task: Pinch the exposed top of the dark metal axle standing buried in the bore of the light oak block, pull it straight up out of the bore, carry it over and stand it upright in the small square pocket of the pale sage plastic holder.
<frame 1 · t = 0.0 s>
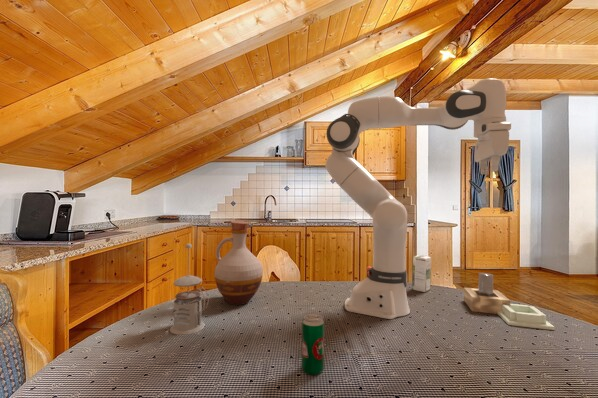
hand: (488, 172, 95), 48 cm above the table, tool pointing down, fingers open, 8 cm apart
holder: (522, 319, 96), on the table
axle: (485, 290, 107), in the bored block
bored block: (485, 307, 107), on the table
french press: (190, 328, 88), on the table
syrup box: (421, 290, 127), on the table
soda can: (312, 370, 67), on the table
jug: (236, 301, 111), on the table
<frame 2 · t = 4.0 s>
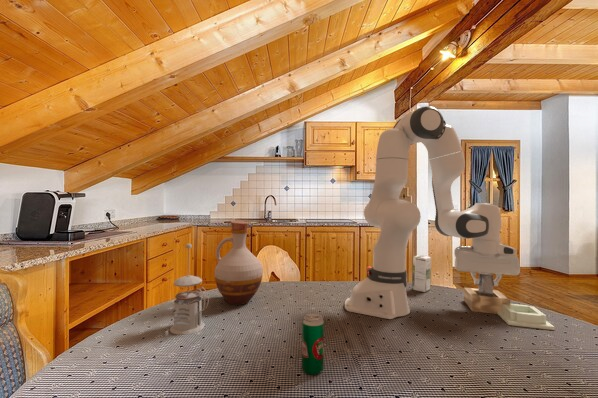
hand: (485, 285, 107), 8 cm above the table, tool pointing down, fingers closed on axle, 4 cm apart
axle: (485, 290, 107), in the bored block, touching gripper
everything else where it was.
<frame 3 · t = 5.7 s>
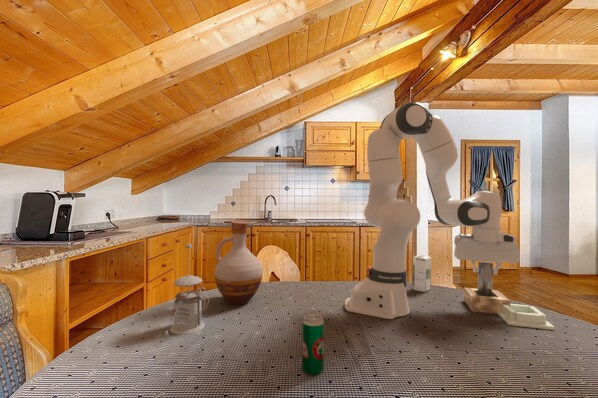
hand: (485, 273, 107), 12 cm above the table, tool pointing down, fingers closed on axle, 4 cm apart
axle: (485, 279, 107), point 10 cm above the table, touching gripper
everything else where it was.
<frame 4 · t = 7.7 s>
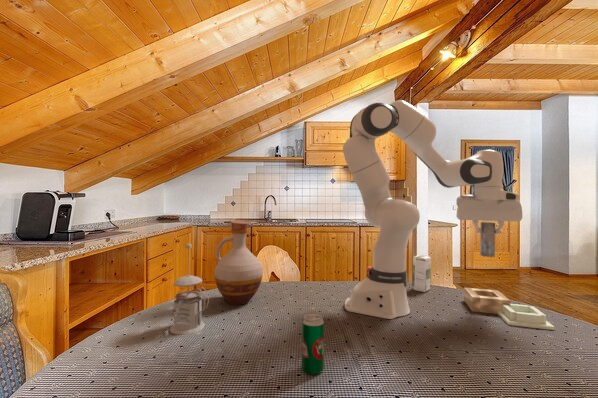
hand: (487, 233, 107), 27 cm above the table, tool pointing down, fingers closed on axle, 4 cm apart
axle: (487, 239, 107), point 25 cm above the table, touching gripper
everything else where it was.
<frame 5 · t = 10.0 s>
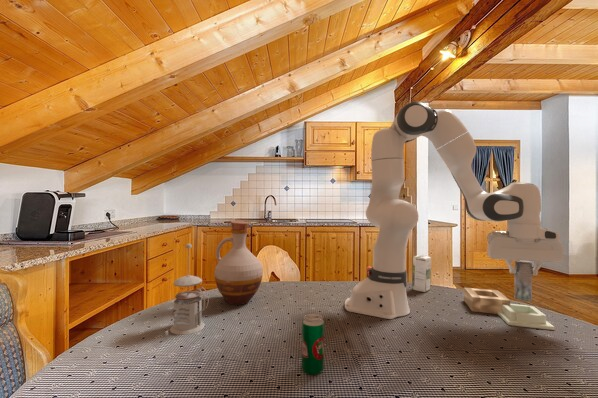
hand: (523, 274, 96), 15 cm above the table, tool pointing down, fingers closed on axle, 4 cm apart
axle: (523, 280, 96), point 13 cm above the table, touching gripper
everything else where it was.
when the fingers open (11 cm above the table, at t = 11.8 s): axle drops 1 cm, resting on holder.
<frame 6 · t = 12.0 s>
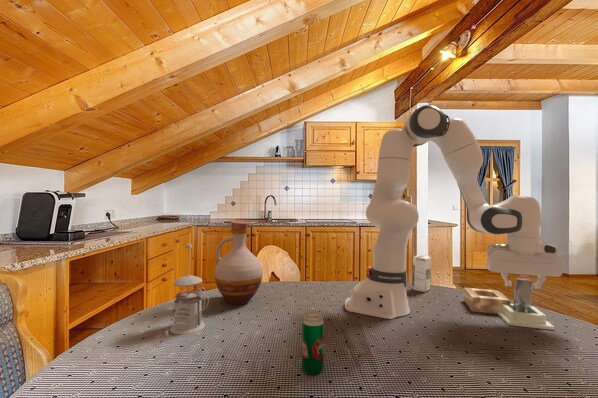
hand: (522, 287, 96), 11 cm above the table, tool pointing down, fingers open, 7 cm apart
axle: (522, 298, 96), in the holder, point 7 cm above the table
everything else where it was.
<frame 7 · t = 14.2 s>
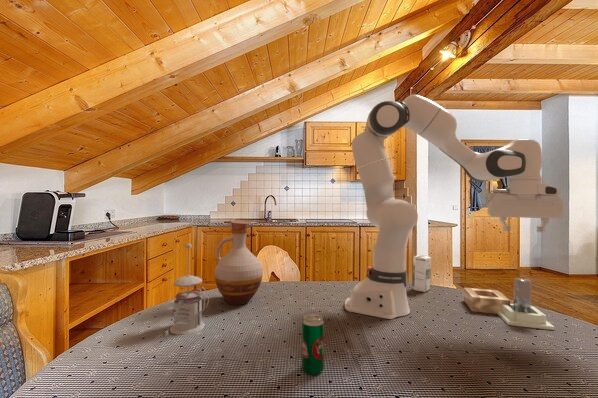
hand: (523, 231, 96), 29 cm above the table, tool pointing down, fingers open, 8 cm apart
nothing on the table moved.
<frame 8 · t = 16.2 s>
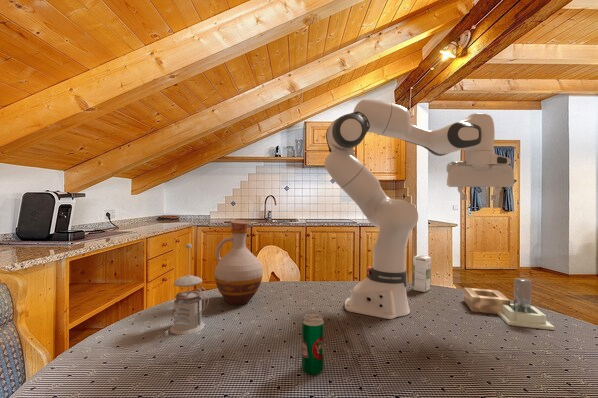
hand: (478, 200, 103), 39 cm above the table, tool pointing down, fingers open, 8 cm apart
nothing on the table moved.
at the end: axle 0.1 cm off-centre on the holder, point 7.0 cm above the holder's base; axle tilted 1°; the gripper is holding nothing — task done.
